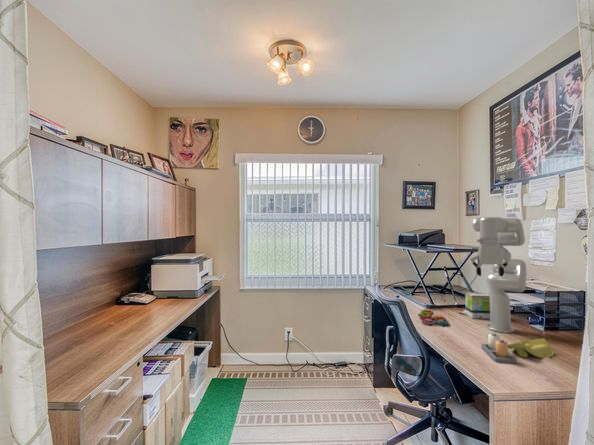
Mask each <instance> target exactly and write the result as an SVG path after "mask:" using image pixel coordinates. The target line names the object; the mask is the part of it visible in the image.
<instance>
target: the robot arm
mask: <svg viewBox="0 0 594 445" xmlns="http://www.w3.org/2000/svg"><path fill="white" fill-rule="evenodd" d="M472 229H473V230H474V231H475V232H479V239H477V241H476V242H477V243H479V244H478V248H477V255H476V256H475V255H474V257H471V258H470V259H469V261H470V262H471V263H472V265H473V266H474V268H476V271H475V272H476V275H477V276H479V277H481V276H482V268H481V267H482V266H483V265H492V266H491V269H492V272H491V273H489V274H488V275H487V278H486V281H487V287H488V293H489V297H490V319H489V322H490V323H489V324H486V328H487V329H489V330H490V331H493V332H498V333H502V334H503V333H504V334H505V333H506V334H512V333H514V332H515V328H513V327H512V325H511V324H512V323H511V299H510V296H509V295H508V293H506V292H515V293H523V292H524V291H525V290H526V286H527V263H526V262H525V261H524V260H522V259H519V258H516V259H515V258H512V253H511V252H510V251H509V250H508V249H507V248H505V247H506V246H507V247H508V246H510V247H511V246H512V247H520V246H523V245H524V244H525V242H526V236H525V232H524V227H523V223H522V221H521V219H520V218H517V217H507V218H504V217H503V218H502V217H498V216H495V217H494V216H492V217H491V216H489V217H488V216H487V217H485V216H484V217H476V218H474V219H473V220H472ZM504 246H505V247H504ZM476 260H477V262H475V261H476Z"/></svg>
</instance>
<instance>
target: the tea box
mask: <svg viewBox="0 0 594 445" xmlns="http://www.w3.org/2000/svg"><path fill="white" fill-rule="evenodd" d="M464 297H465V298H464V299H465V302H464V304H465V306H464V307H465V308H464V309H465V310H464V311H465V312H464V314H465V313H466V314H467V315H466V314H465V315H466V316H468V317H469V318H471V319H485V320H486V319H489V320H490V297H489V292H469V291H468V292H467V291H466V292H465V294H464Z"/></svg>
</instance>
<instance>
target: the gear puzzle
mask: <svg viewBox="0 0 594 445" xmlns="http://www.w3.org/2000/svg"><path fill="white" fill-rule="evenodd" d="M417 315H418V316H417V317H419V319H420V322H421V324H422V325H423V326H426V327H427V326H432V327H442V326H443V327H447V328H450V327H451V326H452V325H451V324H450V322H449V320H448V319H447V318H446V317H445V316H442V315H440V314H434V311H433V310H431V309H429V308H424V309H423V310H420V313H418V314H417Z"/></svg>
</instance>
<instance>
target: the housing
mask: <svg viewBox="0 0 594 445" xmlns="http://www.w3.org/2000/svg"><path fill="white" fill-rule="evenodd" d="M480 348H481V349H482V350H483V351H484V353H485V354H486V355H487V356H488V358H490V359H491V360H492V361H493V362H496V363H497V362H498V363H506V364H518V359H517V358H515V357H514V356H513V354H511V353H510V352H509V351H508V358H499V357H496V350H489V347H488V343H480Z"/></svg>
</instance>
